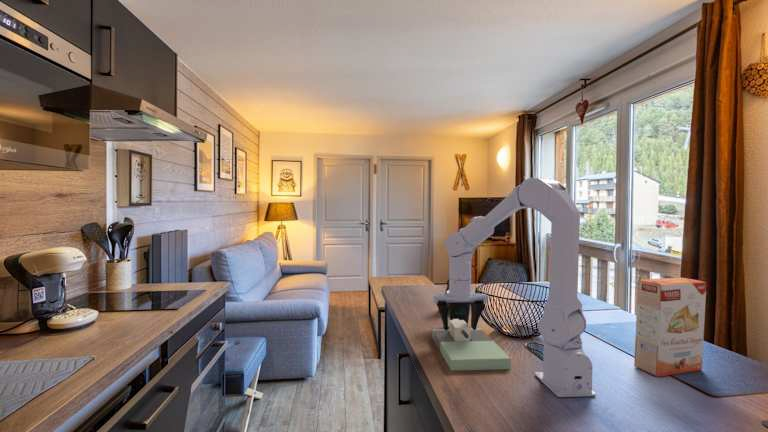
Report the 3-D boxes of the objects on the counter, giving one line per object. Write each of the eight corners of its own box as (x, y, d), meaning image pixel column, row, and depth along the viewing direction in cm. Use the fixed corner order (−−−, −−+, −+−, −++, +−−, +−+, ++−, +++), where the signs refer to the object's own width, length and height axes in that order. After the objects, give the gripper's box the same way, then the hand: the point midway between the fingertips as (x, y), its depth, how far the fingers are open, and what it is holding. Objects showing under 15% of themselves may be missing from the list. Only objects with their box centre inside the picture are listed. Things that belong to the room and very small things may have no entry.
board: (510, 369, 80) (510, 358, 80) (451, 370, 79) (451, 359, 79) (480, 336, 100) (480, 328, 100) (432, 337, 99) (432, 328, 99)
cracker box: (659, 379, 76) (662, 284, 76) (632, 366, 82) (635, 278, 81) (705, 371, 80) (708, 281, 79) (676, 360, 86) (679, 276, 85)
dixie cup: (456, 321, 114) (457, 288, 113) (477, 328, 107) (477, 292, 107) (440, 326, 108) (441, 291, 108) (461, 333, 102) (461, 296, 102)
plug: (474, 356, 87) (474, 332, 87) (458, 356, 87) (459, 332, 87) (462, 340, 98) (462, 318, 98) (448, 340, 97) (448, 319, 97)
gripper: (481, 275, 98) (480, 323, 98) (430, 275, 97) (429, 324, 97) (490, 280, 91) (490, 332, 91) (436, 281, 90) (435, 333, 90)
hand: (459, 328), depth 94 cm, fingers open, 7 cm apart
